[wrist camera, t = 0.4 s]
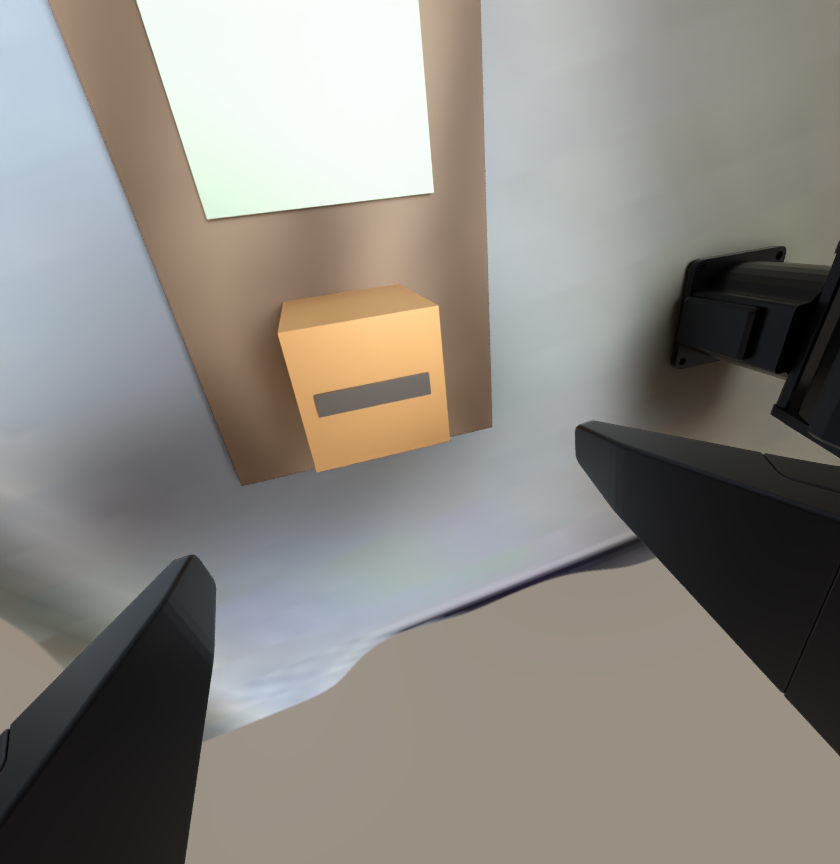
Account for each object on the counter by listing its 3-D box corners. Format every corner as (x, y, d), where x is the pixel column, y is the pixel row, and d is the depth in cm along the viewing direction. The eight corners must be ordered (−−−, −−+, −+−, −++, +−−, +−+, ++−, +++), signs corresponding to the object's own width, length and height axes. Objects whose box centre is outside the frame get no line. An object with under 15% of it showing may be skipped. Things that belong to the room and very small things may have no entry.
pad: (403, -132, 13) (406, -142, 13) (431, 193, 17) (433, 192, 17) (92, -143, 11) (86, -155, 11) (208, 219, 16) (207, 219, 15)
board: (464, -153, 14) (475, -178, 13) (485, 420, 24) (492, 427, 23) (-10, -175, 11) (-35, -207, 10) (244, 475, 22) (241, 486, 21)
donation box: (399, 283, 18) (439, 306, 13) (412, 388, 21) (451, 442, 16) (283, 301, 18) (277, 334, 12) (311, 409, 20) (317, 474, 15)
